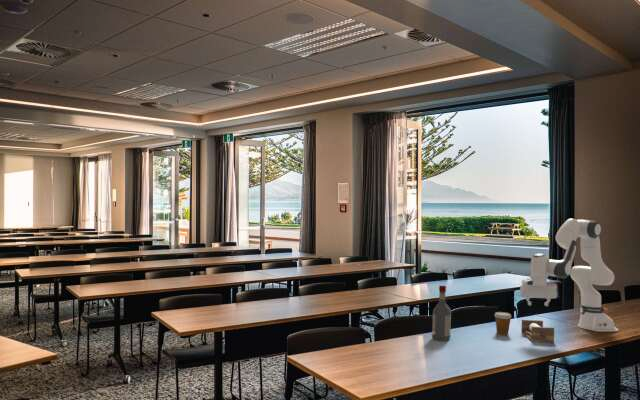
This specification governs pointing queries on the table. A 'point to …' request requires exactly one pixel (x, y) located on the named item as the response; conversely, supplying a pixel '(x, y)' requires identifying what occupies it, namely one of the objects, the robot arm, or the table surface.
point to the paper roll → (532, 326)
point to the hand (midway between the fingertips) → (538, 305)
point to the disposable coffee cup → (502, 322)
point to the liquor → (441, 318)
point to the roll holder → (537, 332)
